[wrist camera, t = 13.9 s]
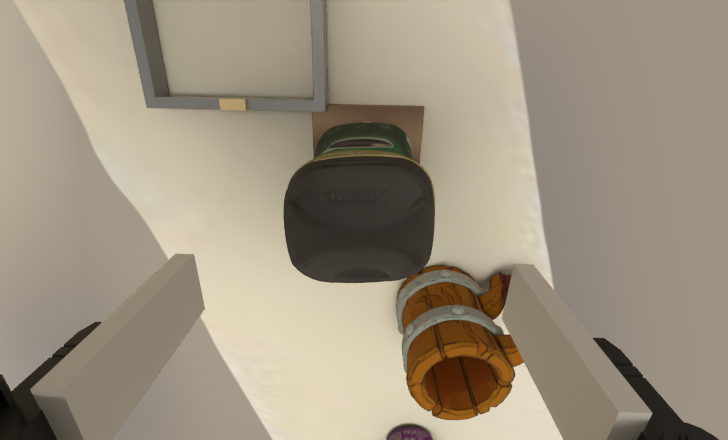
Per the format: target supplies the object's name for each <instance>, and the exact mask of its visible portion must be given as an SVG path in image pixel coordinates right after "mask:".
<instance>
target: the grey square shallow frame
mask: <svg viewBox="0 0 728 440" xmlns="http://www.w3.org/2000/svg"><path fill="white" fill-rule="evenodd" d="M310 2H311V31H312V59H313V87H314V98H271V97H226V96H181V95H169V90H168V85H167V79H166V74H165V69H164V63H163V58H162V53H161V47H160V42H159V37H158V31H157V26H156V21H155V15H154V10H153V5H152V0H124V3H125V8H126V12H127V17H128V22H129V26H130V31H131V36H132V40H133V45H134V50H135V54H136V59H137V64H138V68H139V73H140V78H141V82H142V87H143V92H144V96H145V101H146V106H147V108H180V109H220V110H237V111H247V110H268V111H311V112H325V111H327V104H328V73H327V24H326V0H310Z"/></svg>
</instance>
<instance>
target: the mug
mask: <svg viewBox="0 0 728 440" xmlns="http://www.w3.org/2000/svg"><path fill="white" fill-rule="evenodd" d="M511 276H512V275H507V276H506V275H504V274H502V273H500V272H499V274H498V275H496V276H494V277H493V278H491V280H490V288H489V290H488V292H486V291H485V290H484V289H481V288H480V286H479V285H478V284H477V283H476V282H475V280H474V279H473V278H472V277H471V276H470V275H469V274H466V273H464V272H463V273H462V271H461V270H460V269H457V268H454V267H452V268H450V269H449V268H448V267H446V266H445V265H443V266H431V267H428V268H426V269H423V270H422V271H421V274H420V273H416V274H414V275H412V276H410V277H409V278H408V279H407V280H406V281H405V282H404V283H403V285H402V287H401V288H400V290H399V292H398V301H397V305H396V313H397V321H398V325H399V326H398V330H399V332H400V333H401V334H403V335H404V336H403V340H402V355H403V362H404V364H403V365H404V370H405V372H406V373H407V377H406V380H407V385H408V389H409V390H410V394H411V396H412V397H413V398H414V399H415V401H416V402H417V403H418V404H419V405H420V406H421V407H422V408H424V409H425V410H427V411H431V410H432V415H433V416H435V417H437V418H441V419H445V420H464V419H469V418H472V417H475V416H477V415H478V413H479V414H483V413H486V412H488V411H489V410H490V407H497V406H498V405H499V404H500V403H502V402H503V401H504V399H505V398H506V397H507V396H508V394H509V393H510V391H511V388H512V384H511V382H512V381H513V379H514V377H515V372H514V369H513V367H515V366H518V365H520V364H522V363H523V362H524V361H523V359H522V357H521V355H520V353H519V351H518V349H517V347H516V345H515V343H514V341H513V339H512V337H511V335H504V333H503V330H502V329H501V328H500V327H499V326H497V325H496V324H495V323H494V322H493V321H492V320H493V319H495V318H497V317H498V316H499V314H500V313H501V311H502V310H503V308H504V306H505V303H506V299H507V294H508V289H509V285H510V280H511Z"/></svg>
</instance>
